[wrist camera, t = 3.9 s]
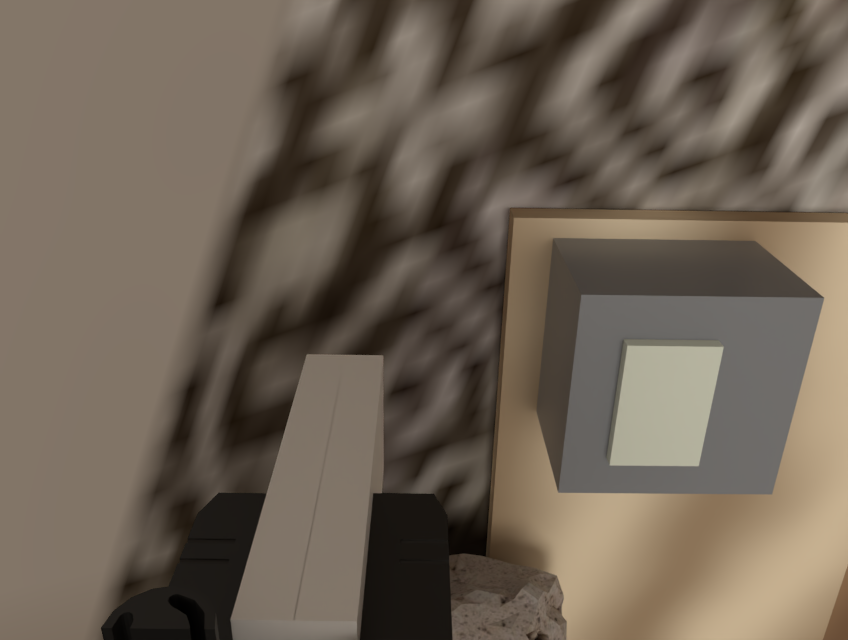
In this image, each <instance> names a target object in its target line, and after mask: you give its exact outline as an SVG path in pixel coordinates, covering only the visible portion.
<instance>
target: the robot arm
mask: <svg viewBox="0 0 848 640" xmlns="http://www.w3.org/2000/svg"><path fill="white" fill-rule="evenodd" d="M383 473H384V404H383V355H326V354H307V355H306V359H305V362H304V366H303V369H302V373H301V376H300V380H299V383H298V387H297V390H296V393H295V397H294V400H293V404H292V407H291V411H290V414H289V418H288V421H287V425H286V428H285V432H284V435H283V439H282V442H281V446H280V449H279V453H278V456H277V460H276V463H275V466H274V470H273V473H272V477H271V480H270V484H269V487H268V491H267V494H263V493H218V494H217V495H216V496H215V497H214V498H213V499H212V500H211V501H210V502H209V503H208V504H207V505H206V506H205V507H204V508H203V509H202V510H201V511H200V512H199V513H198V514H197V517H196V519H195V522H194V524H193V527H192V529H191V532H190V534H189V537H188V542H187V543H186V544H185V547H184V549H183V552H182V554H181V557H180V563H178V564H177V567H176V569H175V572H174V574H173V577H172V579H171V582H170V584H169V587H163V588H155V589H151V590H149V591H146V592H144V593H141V594H139V595H136V596H134V597H131V598H130V599H129V600H127V601H126V602H125V603H123V604H122V605H121V606H119V607H118V608H117V609H115V610H114V611H113V612H112V614H111V615H110V616H109V618H108V619H107V620H106V622H105V623H104V625H103V626H102V627H101V630H102V634H103V639H104V640H453V638H452V614H451V590H450V566H449V545H448V519H447V514H446V512H445V511H444V509H443V508H442V506H441V505H440V503H439V501H438V500H437V498H436V497H435V495H434V494H398V493H382V486H383Z"/></svg>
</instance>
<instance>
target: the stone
mask: <svg viewBox="0 0 848 640" xmlns="http://www.w3.org/2000/svg"><path fill="white" fill-rule="evenodd" d="M449 566H450V590H451V614H452V638H453V640H566V632H567V621H566V620H565V619H564V617H563V616H562V604H563V600H564V595H563V592H562V589H561V586H560V583H559V580H558V577H557V575H554V574H551V573H548V572H545V571H542V570H540V569H537V568H534V567H528V566H520V565H513V564H510V563H507V562H503V561H500V560H496V559H492V558H488V557H484V556H479V555H471V554H456V555H449Z"/></svg>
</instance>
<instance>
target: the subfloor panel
mask: <svg viewBox="0 0 848 640" xmlns="http://www.w3.org/2000/svg"><path fill="white" fill-rule="evenodd" d="M553 238H589V239H659V240H728V241H756V242H757V243H759V244H760V245H761V246H762V247H763V248H765V249H766V250H767V251H768V252H769V253H771V254H772V255H773V256H774V257H775V258H777V259H778V260H779V261H780V262H782V263H783V264H784V265H785V266H786V267H788V268H789V269H790V270H791V271H792V272H794V273H795V274H796V275H797V276H798V277H800V278H801V279H802V280H803V281H805V282H806V283H807V284H808V285H809V286H811V287H812V288H813V289H814V290H815V291H817V292H818V293H819V294H820V295H822V296H823V297H824V301H823V305H822V309H821V313H820V316H819V320H818V324H817V328H816V331H815V335H814V339H813V343H812V347H811V350H810V354H809V358H808V362H807V365H806V369H805V373H804V377H803V380H802V384H801V388H800V392H799V395H798V399H797V403H796V407H795V410H794V414H793V418H792V422H791V425H790V429H789V433H788V437H787V440H786V444H785V448H784V452H783V456H782V459H781V463H780V467H779V471H778V474H777V478H776V482H775V486H774V489H773V493H772V495H768V494H645V493H558V490H557V486H556V483H555V479H554V475H553V471H552V468H551V464H550V460H549V457H548V453H547V449H546V445H545V442H544V438H543V434H542V431H541V427H540V423H539V420H538V416H537V412H536V411H537V400H538V390H539V380H540V369H541V359H542V348H543V338H544V328H545V317H546V307H547V297H548V286H549V276H550V265H551V255H552V245H553ZM486 557H488V558H492V559H496V560H500V561H503V562H507V563H510V564H513V565H520V566H528V567H534V568H537V569H540V570H542V571H545V572H548V573H551V574H554V575H557V577H558V580H559V583H560V586H561V589H562V592H563V595H564V600H563V604H562V616H563V617H564V619H565V620H566V621H567V632H566V640H848V213H806V212H740V211H673V210H607V209H541V208H510V217H509V231H508V246H507V260H506V274H505V289H504V303H503V317H502V332H501V346H500V360H499V375H498V389H497V403H496V418H495V432H494V446H493V461H492V475H491V490H490V504H489V518H488V533H487V547H486Z"/></svg>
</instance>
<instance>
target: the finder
mask: <svg viewBox="0 0 848 640" xmlns="http://www.w3.org/2000/svg"><path fill="white" fill-rule="evenodd" d="M823 301H824V297H823V296H822V295H820V294H819V293H818V292H817V291H815V290H814V289H813V288H812V287H811V286H809V285H808V284H807V283H806V282H805V281H803V280H802V279H801V278H800V277H798V276H797V275H796V274H795V273H794V272H792V271H791V270H790V269H789V268H788V267H786V266H785V265H784V264H783V263H782V262H780V261H779V260H778V259H777V258H775V257H774V256H773V255H772V254H771V253H769V252H768V251H767V250H766V249H765V248H763V247H762V246H761V245H760V244H759V243H757V242H756V241H728V240H659V239H589V238H553V245H552V255H551V265H550V276H549V286H548V297H547V307H546V317H545V328H544V338H543V348H542V359H541V369H540V380H539V390H538V400H537V411H536V412H537V416H538V420H539V423H540V427H541V431H542V434H543V438H544V442H545V445H546V449H547V453H548V457H549V460H550V464H551V468H552V471H553V475H554V479H555V483H556V486H557V490H558V493H645V494H768V495H772V493H773V489H774V486H775V482H776V478H777V474H778V471H779V467H780V463H781V459H782V456H783V452H784V448H785V444H786V440H787V437H788V433H789V429H790V425H791V422H792V418H793V414H794V410H795V407H796V403H797V399H798V395H799V392H800V388H801V384H802V380H803V377H804V373H805V369H806V365H807V362H808V358H809V354H810V350H811V347H812V343H813V339H814V335H815V331H816V328H817V324H818V320H819V316H820V313H821V309H822V305H823Z"/></svg>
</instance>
